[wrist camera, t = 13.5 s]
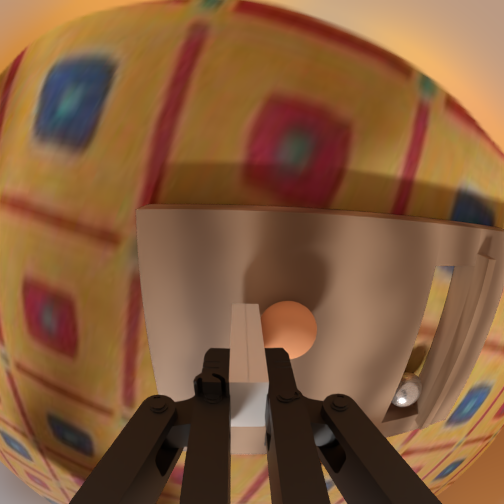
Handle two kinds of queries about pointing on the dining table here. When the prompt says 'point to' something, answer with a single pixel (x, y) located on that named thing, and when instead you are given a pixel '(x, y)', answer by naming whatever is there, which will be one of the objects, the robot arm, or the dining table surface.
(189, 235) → the walnut board
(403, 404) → the steel ball
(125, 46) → the dining table surface
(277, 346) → the rust ball
